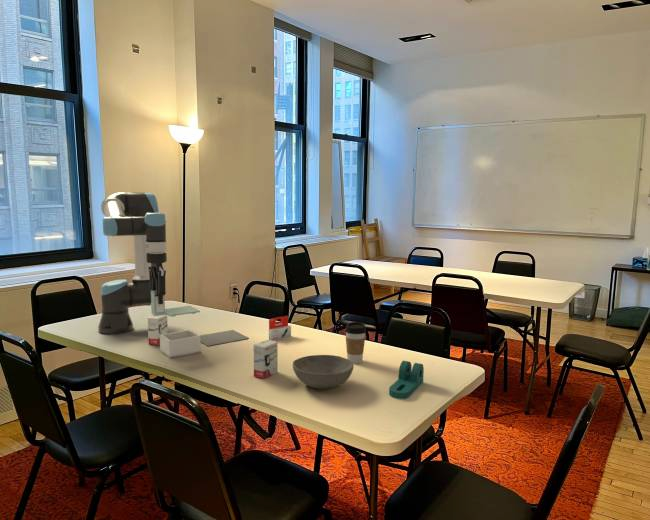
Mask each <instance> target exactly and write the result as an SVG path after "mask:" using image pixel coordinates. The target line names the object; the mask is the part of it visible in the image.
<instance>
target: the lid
mask: <svg viewBox="0 0 650 520" xmlns="http://www.w3.org/2000/svg"><path fill="white" fill-rule="evenodd" d="M155 295H157V291H156V290H152V291H151V305H150V306H151V307H150V308H151V311H150V312H151V315H152V316H153V315H154V316H161V315H167V317H176V316H184V315H189V314H192V315H193V314H194V315H195V314H196V313H197V314H198V313H201V310H199V309H197V308H196V307H193V306H192V305H185V306H178V307H170V308H166V307H165V305H166V303H165V295H164V296H163V298H164V312H156V297H155Z"/></svg>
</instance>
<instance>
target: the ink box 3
mask: <svg viewBox="0 0 650 520" xmlns="http://www.w3.org/2000/svg"><path fill="white" fill-rule="evenodd" d="M277 320H279V321H277ZM291 337H292V325H289V315H285V316H284V315H283V316H278V317H273V318H269V319H268V340H271V341H275V342H276V341H279V340H283V339H287V338H291Z"/></svg>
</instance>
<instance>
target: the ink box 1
mask: <svg viewBox="0 0 650 520" xmlns="http://www.w3.org/2000/svg"><path fill="white" fill-rule="evenodd" d="M168 327H169V326H168V315H161V316H154V315H152V316H151V315H150V316H148V317H147V332H148V333H147V335H148V338H147V339H148V340H147V341H148V342H147V343H148V345H154V346H155V345H156V346H160V334H166V333H169V330H168V329H169V328H168Z"/></svg>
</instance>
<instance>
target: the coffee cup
mask: <svg viewBox="0 0 650 520" xmlns="http://www.w3.org/2000/svg"><path fill="white" fill-rule="evenodd" d="M344 329H345V330H344V332H345V345H346V348H345V349H346V359H348V360H350V361H351V362H352V363H353V365H356V364H357V365H358V364H361V363H363V358H364V349H365V344H366V343H365V340H366V332H367V329H366V325H365V323H363V322H359V321H353V322H349V323H347V324H346V327H345V328H344Z"/></svg>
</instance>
